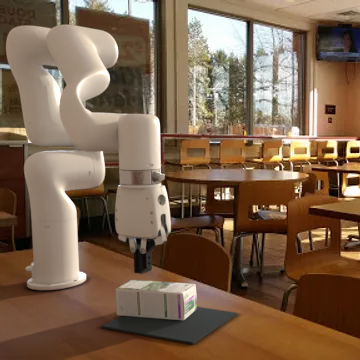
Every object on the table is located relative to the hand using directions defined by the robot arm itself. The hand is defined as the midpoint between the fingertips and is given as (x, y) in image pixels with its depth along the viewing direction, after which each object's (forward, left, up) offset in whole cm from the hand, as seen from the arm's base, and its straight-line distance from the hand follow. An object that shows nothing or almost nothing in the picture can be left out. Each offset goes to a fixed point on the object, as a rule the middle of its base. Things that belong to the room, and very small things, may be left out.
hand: (143, 271), depth 97 cm
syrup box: (-5, 0, -6) cm, 8 cm away
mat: (+6, 0, -9) cm, 11 cm away
